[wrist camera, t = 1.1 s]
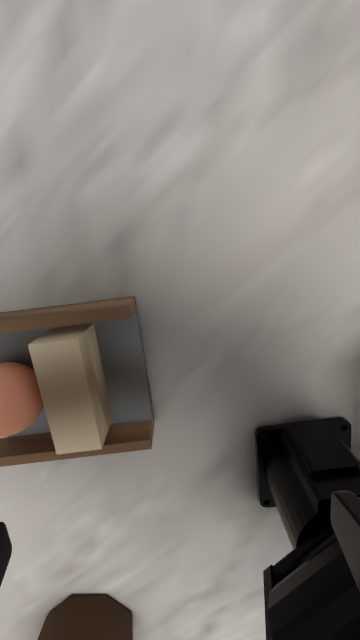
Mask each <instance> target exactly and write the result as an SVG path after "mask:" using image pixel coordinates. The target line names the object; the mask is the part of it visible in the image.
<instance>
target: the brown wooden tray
mask: <svg viewBox="0 0 360 640" xmlns="http://www.w3.org/2000/svg"><path fill="white" fill-rule="evenodd" d="M88 323H94V328H95V333H96V338H97V343H98V348H99V353H100V358H101V363H102V368H103V373H104V378H105V383H106V388H107V393H108V398H109V403H110V408H111V413H112V421H111V424H110V427H109V430H108V433H107V436H106V439H105V442H104V444H103V447H102V449H100V450H91V451H83V452H74V453H66V454H56V450H55V446H54V443H53V439H52V435H51V431H50V427H49V424H48V420H47V416H46V412H45V409H44V406H43V409H42V411H41V413H40V414H39V416H38V418H37V419H36V420H35V421H34V422H33V423H32V424H31V425H30V426H29V427H27V428H26V429H24V430H23V431H21V432H19V433H17V434H14V435H11V436H6V437H0V467H1V466H9V465H18V464H26V463H35V462H43V461H52V460H60V459H69V458H77V457H86V456H94V455H103V454H111V453H120V452H128V451H136V450H145V449H151V447H152V437H153V428H154V414H153V408H152V401H151V395H150V389H149V383H148V376H147V370H146V364H145V358H144V351H143V345H142V339H141V333H140V326H139V320H138V314H137V308H136V301H135V297H127V298H118V299H110V300H102V301H94V302H85V303H77V304H69V305H61V306H53V307H44V308H36V309H28V310H20V311H11V312H3V313H0V363H3V362H15V363H20V364H23V365H26V366H28V367H29V368H31V369H32V370H34V367H33V363H32V359H31V355H30V352H29V348H28V344H30V343H31V342H33V341H34V340H35V339H37V338H38V337H40V336H41V335H42V334H44V333H45V332H47V331H48V330H49V329H51V328H55V327H64V326H72V325H80V324H88Z"/></svg>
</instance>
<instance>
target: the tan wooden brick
mask: <svg viewBox="0 0 360 640" xmlns="http://www.w3.org/2000/svg"><path fill="white" fill-rule="evenodd" d="M28 348H29V352H30V355H31V359H32V363H33V367H34V371H35V374H36V378H37V382H38V386H39V390H40V393H41V397H42V401H43V405H44V409H45V412H46V416H47V420H48V424H49V427H50V431H51V435H52V439H53V443H54V446H55V450H56V454H66V453H74V452H83V451H91V450H100V449H102V447H103V444H104V442H105V439H106V436H107V433H108V430H109V427H110V424H111V421H112V413H111V408H110V403H109V398H108V393H107V388H106V383H105V378H104V373H103V368H102V363H101V358H100V353H99V348H98V343H97V338H96V333H95V328H94V323H88V324H80V325H72V326H64V327H55V328H51V329H49V330H48V331H47V332H45V333H44V334H42V335H41V336H40V337H38V338H37V339H35V340H34V341H33V342H31V343H30V344H28Z"/></svg>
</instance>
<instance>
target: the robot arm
mask: <svg viewBox="0 0 360 640" xmlns="http://www.w3.org/2000/svg"><path fill="white" fill-rule="evenodd" d="M343 424H344V426H343V427H341V425H343ZM261 434H265V435H264V436H262V437H261V436H260V435H261ZM255 449H256V465H257V481H258V497H259V501H260V504H261V506H262V507H276V506H277V509H278V511H279V514H280V517H281V519H282V522H283V524H284V527H285V529H286V532H287V534H288V537H289V539H290V542H291V545H292V547H293V550H292V551H291V552H290V553H289V554H287V555H286V556H285V557H284V558H283V559H281V560H280V561H279V562H278V563H276V564H275V565H274V566H273V565H270V566H269V567H268V568H267V569H265V570H264V572H263V574H264V598H265V621H266V640H360V462H359V460H358V459H357V458H356V457H355V456H354V454H353V453H352V452H351V451H350V450H351V424H350V423H349V422H348V421H347V420H346V419H345V418H334V419H326V420H313V421H305V422H296V423H288V424H284V425H275V426H267V427H260V428H258V429H256V431H255ZM266 499H267V500H266ZM11 553H12V545H11V541H10V538H9V535H8V531H7V528H6V525H5V524H4V523H3V522H0V586H1V583H2V580H3V578H4V575H5V572H6V569H7V566H8V563H9V560H10V557H11Z"/></svg>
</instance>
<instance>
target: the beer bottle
mask: <svg viewBox="0 0 360 640" xmlns="http://www.w3.org/2000/svg"><path fill="white" fill-rule="evenodd" d="M38 640H133V635H132V615H131V611H129V610H128V609H126V608H125V607H123V606H122V605H121V604H119V603H118V602H116V601H115V600H113V599H112V598H110V597H109V596H108V595H72V596H71V597H69V598H68V599H67V600H65V601H64V602H63V603H62V604H60V605H59V606H58V607H57V608H55V609H54V610H53V611H51V612H50V614H49V615H48V616H47V617H46V620H45V622H44V625H43V627H42V630H41V632H40V635H39V638H38Z"/></svg>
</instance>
